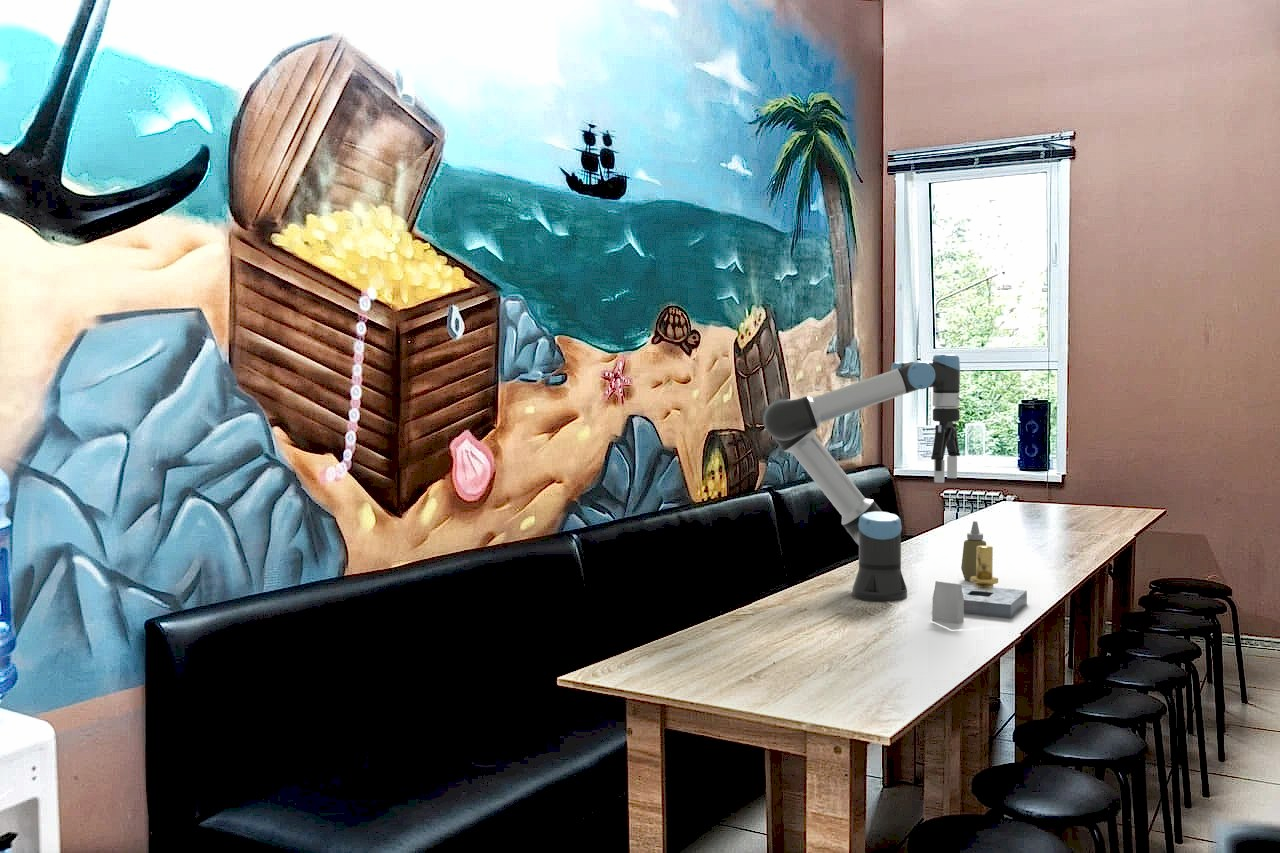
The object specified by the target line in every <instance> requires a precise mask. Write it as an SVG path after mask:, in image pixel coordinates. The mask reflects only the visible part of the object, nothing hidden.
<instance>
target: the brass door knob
mask: <svg viewBox="0 0 1280 853" xmlns="http://www.w3.org/2000/svg"><path fill="white" fill-rule="evenodd" d="M993 548H994V547H993V546H992V545H991V546H990V545H986V546H976V576H972V577H970V581H971V582H970V581H969V582H970V583H973V584H974V586H984V587H994V585H997V584H998V583H999V578H998V577H996V576H993V560H994V559H993V553H994V552H993V551H994V550H993Z"/></svg>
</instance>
